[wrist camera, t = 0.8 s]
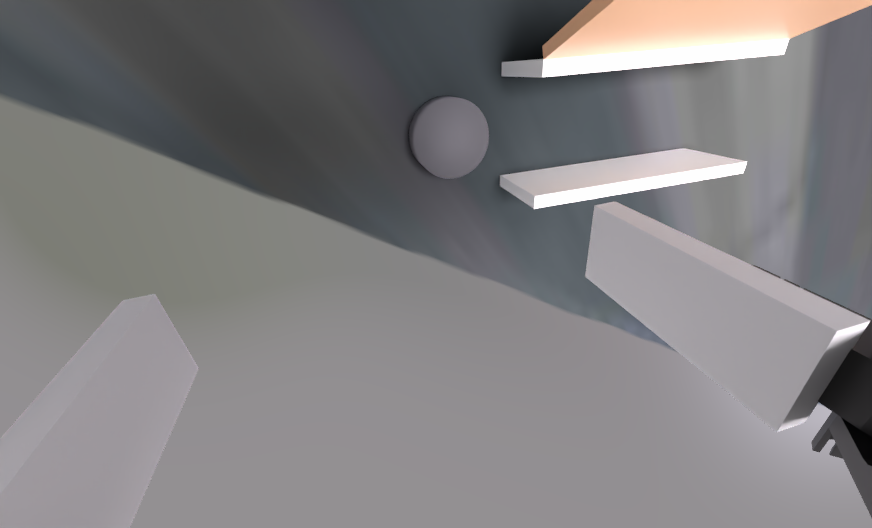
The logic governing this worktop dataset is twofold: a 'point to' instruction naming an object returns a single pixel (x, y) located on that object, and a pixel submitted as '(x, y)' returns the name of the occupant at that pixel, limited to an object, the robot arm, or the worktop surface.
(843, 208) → the worktop surface
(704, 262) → the robot arm
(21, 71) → the worktop surface
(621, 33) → the duct cover
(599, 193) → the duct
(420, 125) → the grey round puck
